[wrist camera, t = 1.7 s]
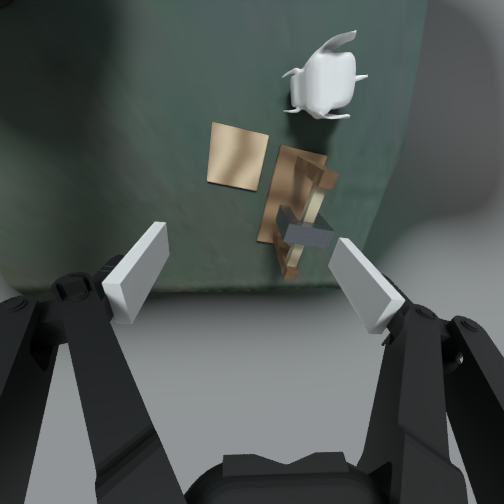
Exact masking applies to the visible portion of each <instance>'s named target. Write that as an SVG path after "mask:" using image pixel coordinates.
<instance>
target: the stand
mask: <svg viewBox="0 0 504 504" xmlns="http://www.w3.org/2000/svg"><path fill="white" fill-rule="evenodd" d="M326 158H327V156H326V155H322V154H318V153H313V152H309V151H305V150H301V149H296V148H292V147H288V146H284V145H280V147H279V151H278V155H277V159H276V163H275V167H274V171H273V175H272V179H271V183H270V187H269V191H268V195H267V199H266V203H265V207H264V211H263V215H262V219H261V223H260V227H259V231H258V235H257V241H262V242H268V243H274V245H275V249H276V253H277V256H278V260H279V264H280V267H281V271H282V274H283V278H284V279H286V280H293V281H295V279H296V277H297V274H298V269H297V263H298V260H299V258H300V255H301V253H302V250H303V248H304V245H299V244H293V243H287V242H283V240H282V237H281V235H280V232H279V229H278V226H277V223H276V221H275V220H276V216H277V213H278V209H279V206H280V204H281V205H286V206H290V208H291V209H292V211H293V213H294V214H295V216H296V218H297V219H298V220H300V221H306V222H311V223H314V220H315V218H316V215H317V213H318V210H319V208H320V205H321V203H322V200H323V198H324V195H325V192H326V190H327V189H333V187H334V184H335V182H336V179H337V177H338V175H339V174H337V173H336V172H334V171H332V170H330V169H328V168H326V167H324V164H325V161H326ZM289 246H290V248H289Z"/></svg>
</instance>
